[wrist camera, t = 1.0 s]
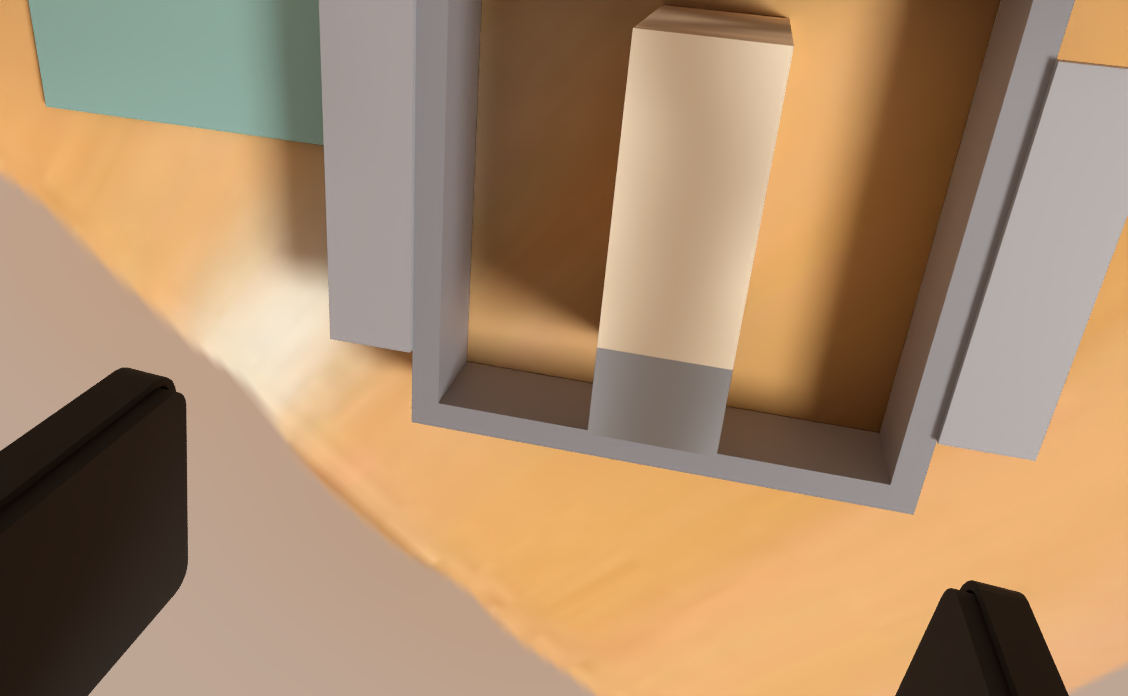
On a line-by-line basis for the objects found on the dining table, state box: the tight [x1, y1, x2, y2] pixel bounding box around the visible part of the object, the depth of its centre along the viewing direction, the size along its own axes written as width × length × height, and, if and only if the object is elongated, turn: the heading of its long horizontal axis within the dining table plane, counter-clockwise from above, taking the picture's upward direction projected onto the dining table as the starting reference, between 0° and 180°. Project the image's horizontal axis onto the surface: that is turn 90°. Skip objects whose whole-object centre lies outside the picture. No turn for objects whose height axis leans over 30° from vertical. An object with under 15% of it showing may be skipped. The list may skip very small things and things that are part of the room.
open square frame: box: [319, 0, 1128, 515], centre depth 30 cm, size 24×18×4 cm
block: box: [588, 5, 794, 457], centre depth 28 cm, size 4×12×7 cm, turn 174°
